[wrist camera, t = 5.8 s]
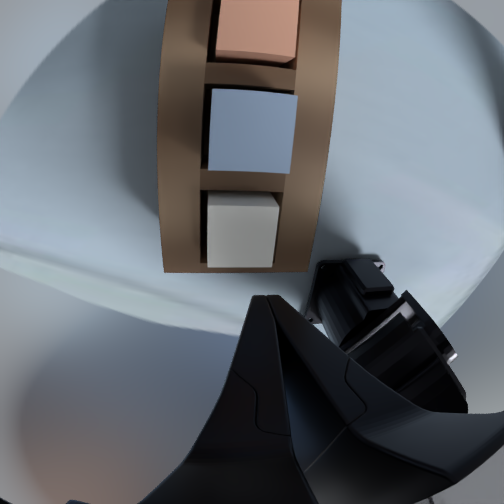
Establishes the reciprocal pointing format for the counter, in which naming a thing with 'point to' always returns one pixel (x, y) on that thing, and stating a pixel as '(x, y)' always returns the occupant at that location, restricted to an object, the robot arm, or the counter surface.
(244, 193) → the key cream
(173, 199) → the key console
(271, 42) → the key terracotta
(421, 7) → the counter surface
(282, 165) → the key blue
